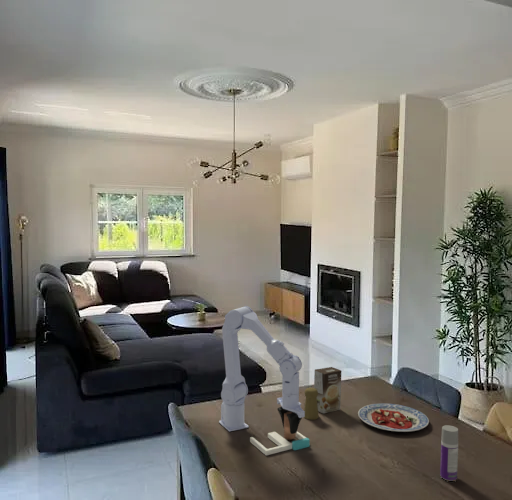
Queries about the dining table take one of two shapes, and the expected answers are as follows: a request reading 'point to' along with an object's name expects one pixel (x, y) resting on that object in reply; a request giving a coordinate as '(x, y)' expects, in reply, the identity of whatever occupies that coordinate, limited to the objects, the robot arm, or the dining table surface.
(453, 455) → the container
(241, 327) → the robot arm
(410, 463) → the dining table surface
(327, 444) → the dining table surface
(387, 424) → the ceramic plate
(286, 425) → the peg
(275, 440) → the slot rack
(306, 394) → the olive yellow shaker
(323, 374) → the coffee box
